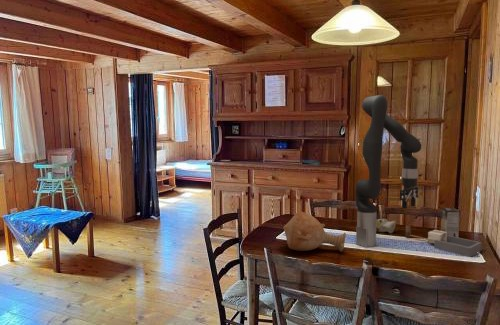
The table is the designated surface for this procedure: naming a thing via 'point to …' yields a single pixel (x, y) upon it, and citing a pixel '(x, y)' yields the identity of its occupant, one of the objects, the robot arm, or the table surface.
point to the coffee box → (450, 221)
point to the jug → (309, 233)
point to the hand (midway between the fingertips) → (408, 207)
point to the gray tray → (459, 246)
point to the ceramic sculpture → (385, 225)
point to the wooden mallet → (429, 235)
